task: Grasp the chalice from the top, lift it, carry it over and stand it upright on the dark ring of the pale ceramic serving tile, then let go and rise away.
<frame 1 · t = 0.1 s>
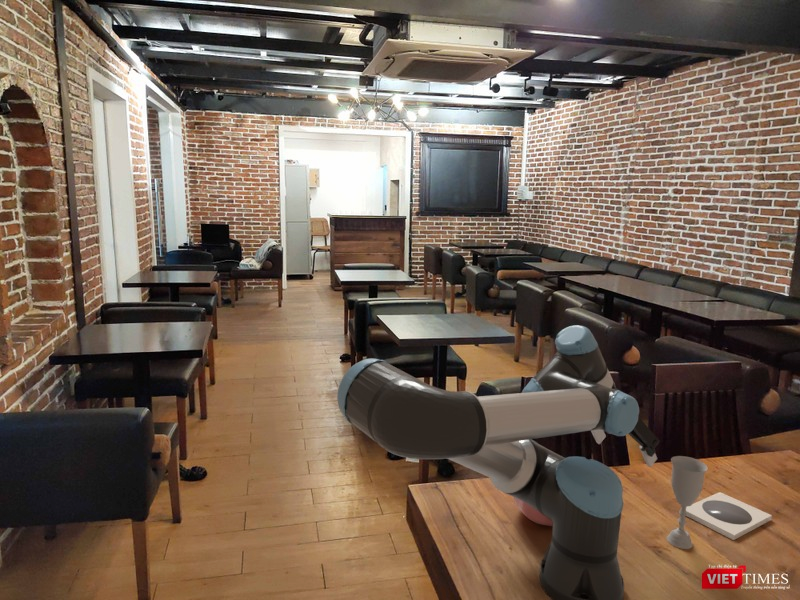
hand: (625, 450, 127), 15 cm above the table, tool tilted 35°, fingers open, 13 cm apart
serving tile: (725, 516, 129), on the table
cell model: (547, 517, 127), on the table
chalice: (679, 542, 119), on the table
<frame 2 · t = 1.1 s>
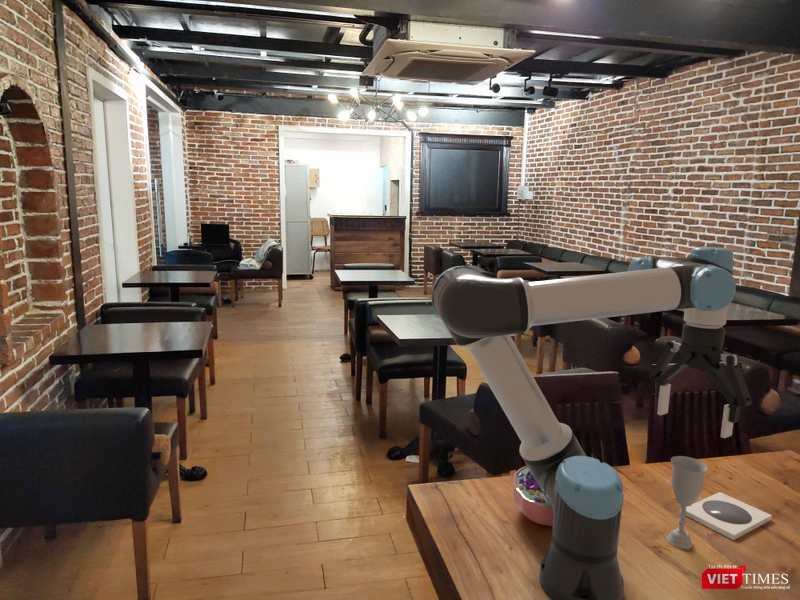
hand: (692, 424, 114), 27 cm above the table, tool pointing down, fingers open, 13 cm apart
nothing on the table moved.
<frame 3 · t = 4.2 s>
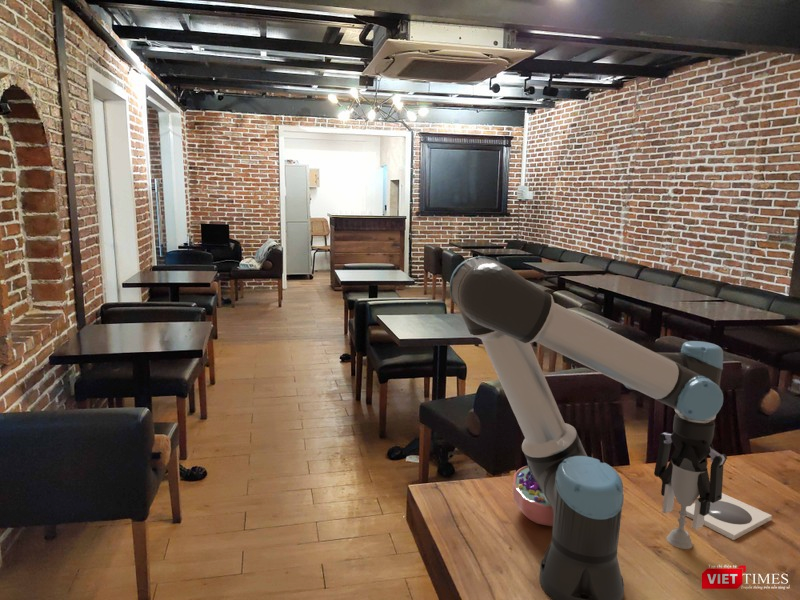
hand: (682, 518, 118), 5 cm above the table, tool pointing down, fingers closed on chalice, 6 cm apart
chalice: (679, 542, 119), on the table, touching gripper
everything else where it was.
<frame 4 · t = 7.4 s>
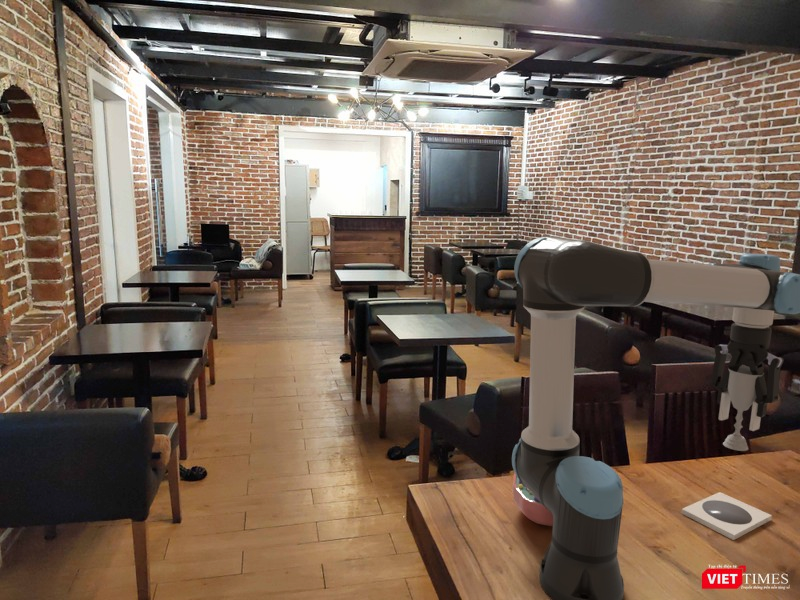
hand: (738, 423, 125), 23 cm above the table, tool pointing down, fingers closed on chalice, 6 cm apart
chalice: (735, 446, 126), point 17 cm above the table, touching gripper
everything else where it was.
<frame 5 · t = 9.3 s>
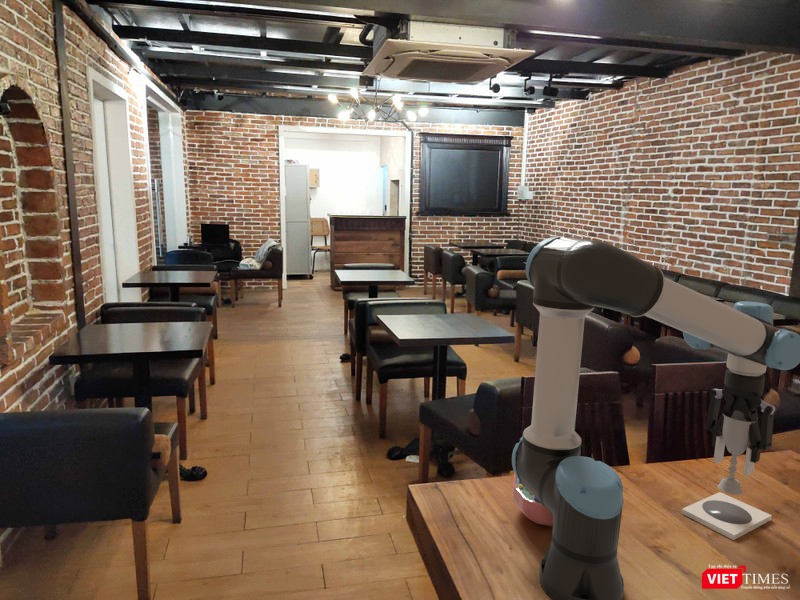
hand: (732, 467, 127), 12 cm above the table, tool pointing down, fingers closed on chalice, 6 cm apart
chalice: (729, 489, 128), point 7 cm above the table, touching gripper
everything else where it was.
when the fingers open (8 cm above the table, at t = 11.0 s): chalice drops 1 cm, resting on serving tile.
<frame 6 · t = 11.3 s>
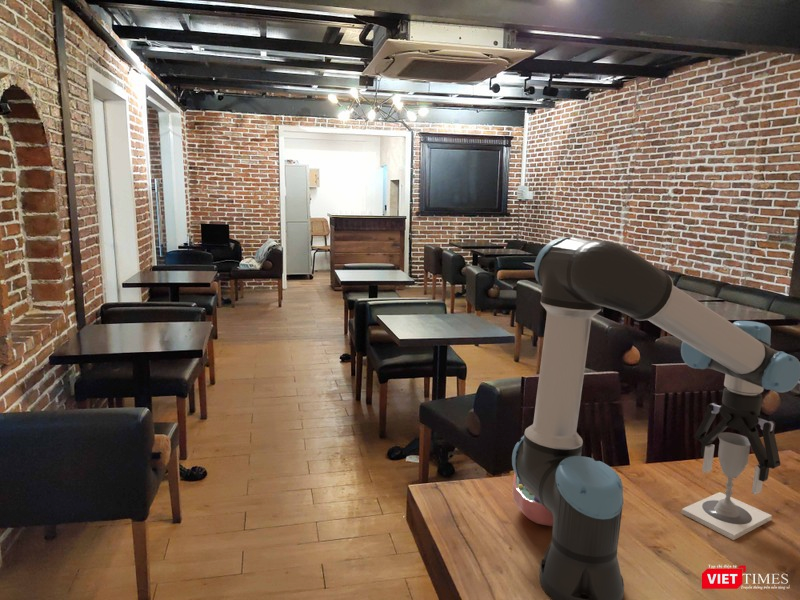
hand: (730, 481, 127), 9 cm above the table, tool pointing down, fingers open, 10 cm apart
chalice: (726, 512, 129), point 1 cm above the table, touching serving tile
everything else where it was.
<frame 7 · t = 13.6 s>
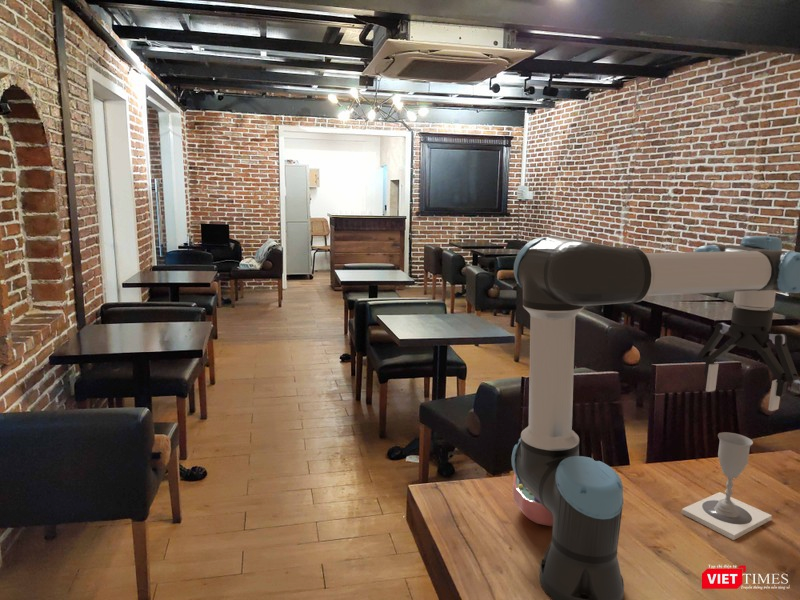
hand: (740, 399, 124), 29 cm above the table, tool pointing down, fingers open, 13 cm apart
nothing on the table moved.
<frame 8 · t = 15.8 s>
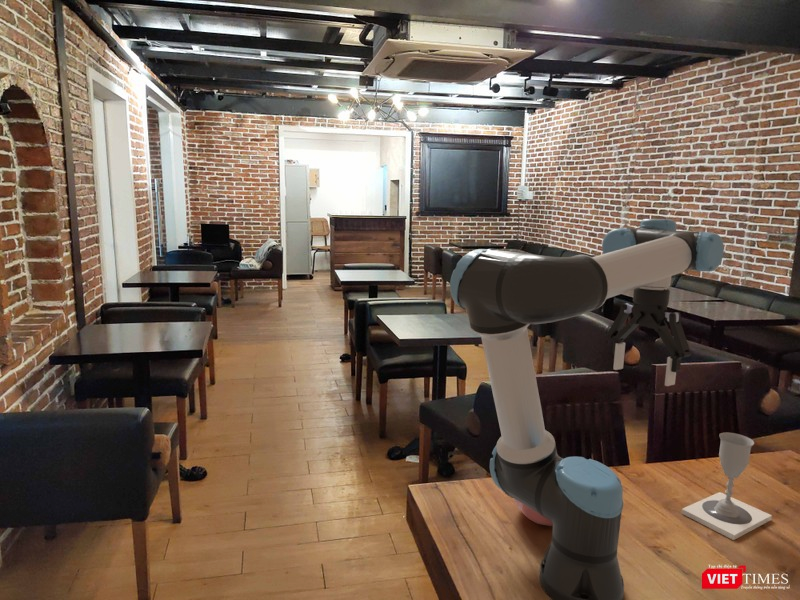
hand: (642, 376, 129), 32 cm above the table, tool pointing down, fingers open, 13 cm apart
nothing on the table moved.
at the end: chalice inside the target area on the serving tile (0.1 cm from its centre), point 1.1 cm above the serving tile's base; chalice tilted 0°; the gripper is holding nothing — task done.
